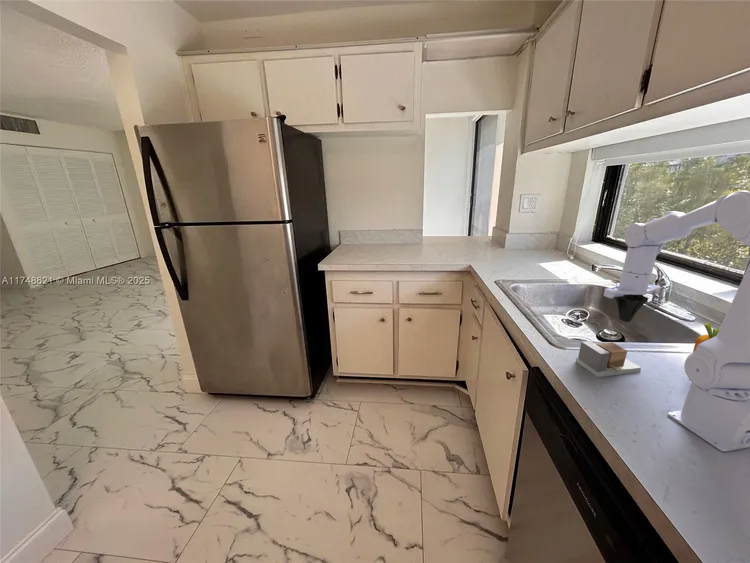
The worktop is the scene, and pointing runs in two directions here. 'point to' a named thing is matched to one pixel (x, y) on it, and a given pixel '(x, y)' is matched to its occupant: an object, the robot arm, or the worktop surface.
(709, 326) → the carrot
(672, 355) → the worktop surface
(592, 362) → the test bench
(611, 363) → the block
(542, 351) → the worktop surface
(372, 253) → the worktop surface
